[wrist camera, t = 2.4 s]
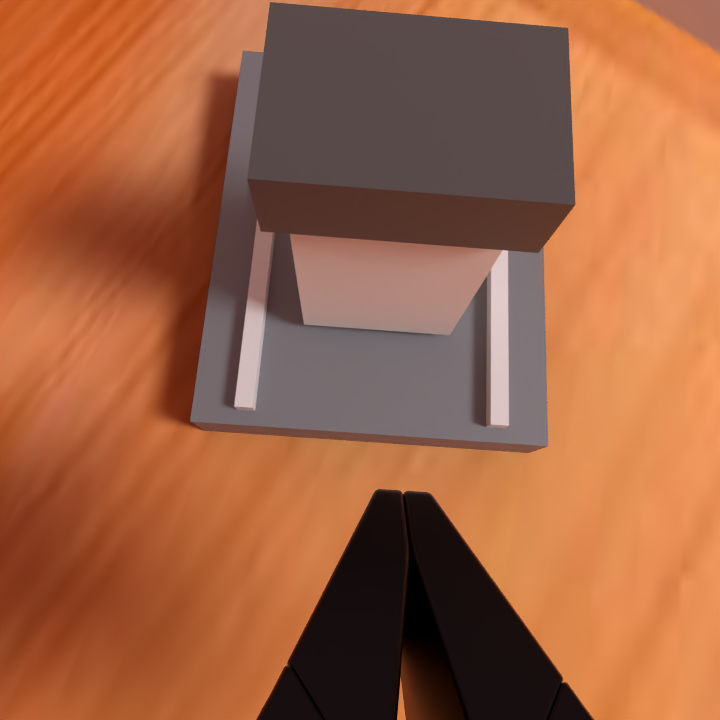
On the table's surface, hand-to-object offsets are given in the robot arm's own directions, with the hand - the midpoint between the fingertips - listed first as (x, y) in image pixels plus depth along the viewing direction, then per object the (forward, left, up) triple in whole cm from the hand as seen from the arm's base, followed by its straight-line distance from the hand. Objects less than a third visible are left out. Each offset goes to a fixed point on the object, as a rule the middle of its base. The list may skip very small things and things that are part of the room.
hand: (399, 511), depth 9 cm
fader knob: (+6, -5, -10) cm, 12 cm away
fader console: (+8, -6, -12) cm, 16 cm away
